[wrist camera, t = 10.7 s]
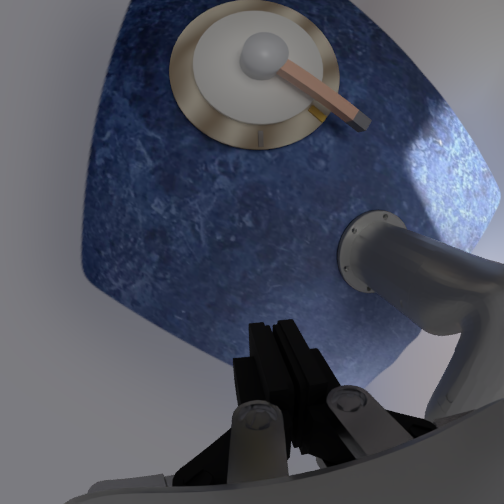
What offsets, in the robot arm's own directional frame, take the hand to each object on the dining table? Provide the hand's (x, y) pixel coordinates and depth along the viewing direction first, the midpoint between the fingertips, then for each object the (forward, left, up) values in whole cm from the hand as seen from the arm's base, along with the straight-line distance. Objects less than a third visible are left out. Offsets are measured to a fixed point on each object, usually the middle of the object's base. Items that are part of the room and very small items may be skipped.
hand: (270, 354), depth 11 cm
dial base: (+9, -18, -29) cm, 36 cm away
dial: (+6, -19, -27) cm, 34 cm away
